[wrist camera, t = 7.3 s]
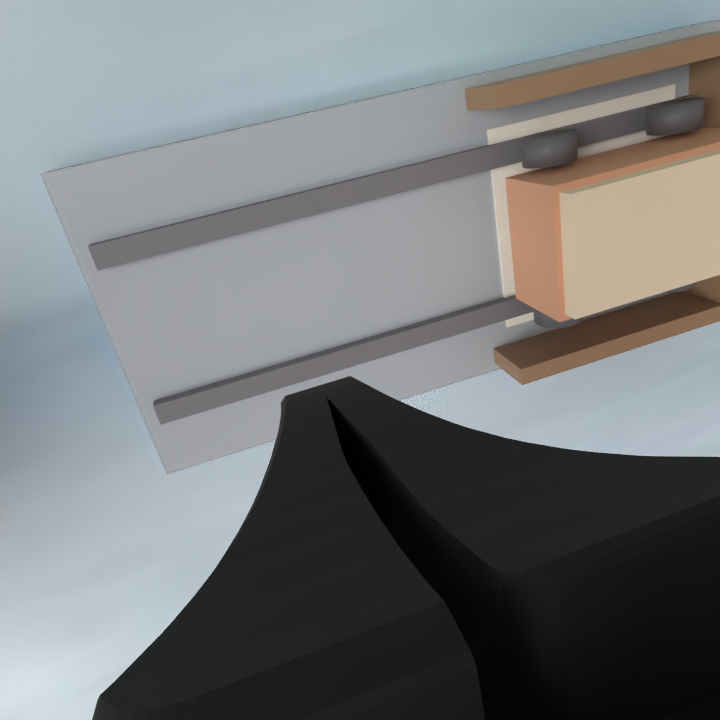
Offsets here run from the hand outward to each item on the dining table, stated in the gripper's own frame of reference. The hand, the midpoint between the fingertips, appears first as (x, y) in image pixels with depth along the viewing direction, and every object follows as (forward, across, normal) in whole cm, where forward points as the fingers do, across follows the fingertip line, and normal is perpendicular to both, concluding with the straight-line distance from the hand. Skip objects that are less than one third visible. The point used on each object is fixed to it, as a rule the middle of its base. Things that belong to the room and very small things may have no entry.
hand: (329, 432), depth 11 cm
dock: (+10, -6, 0) cm, 11 cm away
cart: (+8, -11, 0) cm, 14 cm away
